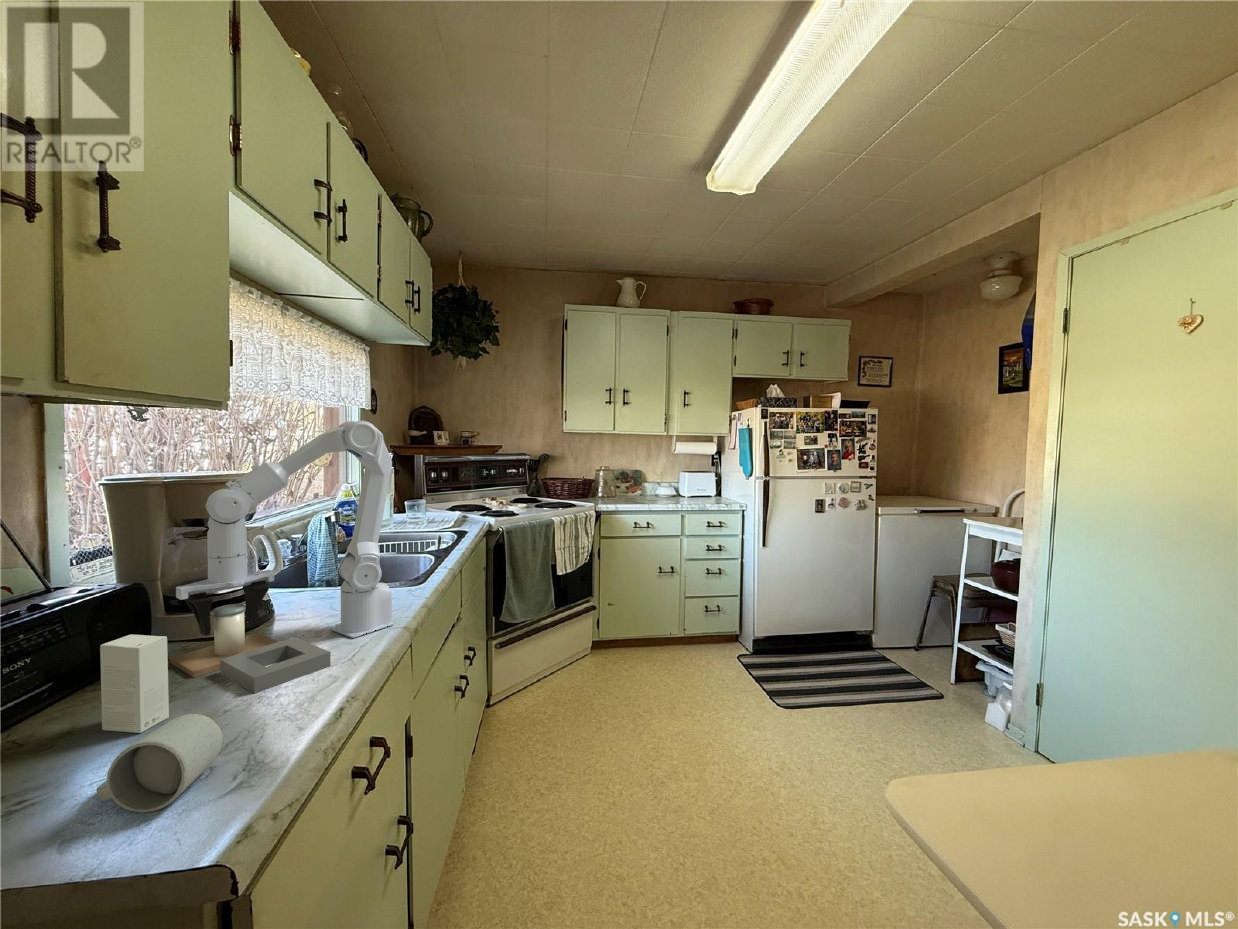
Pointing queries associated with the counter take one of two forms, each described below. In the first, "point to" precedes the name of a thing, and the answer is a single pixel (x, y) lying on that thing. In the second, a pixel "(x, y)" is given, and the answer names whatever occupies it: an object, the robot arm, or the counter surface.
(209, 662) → the board
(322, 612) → the counter surface
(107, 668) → the skincare box
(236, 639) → the cartridge
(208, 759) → the ceramic mug
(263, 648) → the housing
